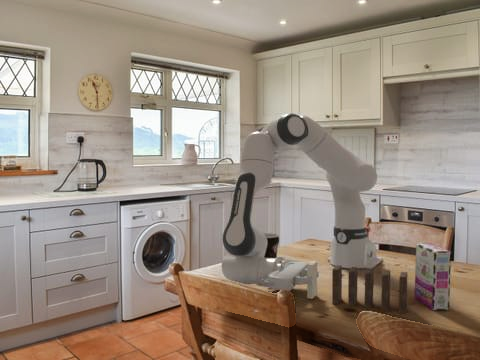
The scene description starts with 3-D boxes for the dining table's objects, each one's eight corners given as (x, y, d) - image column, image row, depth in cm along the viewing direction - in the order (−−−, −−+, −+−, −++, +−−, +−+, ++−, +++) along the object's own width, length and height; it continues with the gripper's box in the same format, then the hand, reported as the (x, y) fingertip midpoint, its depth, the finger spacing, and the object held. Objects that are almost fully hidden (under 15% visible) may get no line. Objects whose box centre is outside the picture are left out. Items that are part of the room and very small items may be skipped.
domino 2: (348, 305, 128) (348, 271, 127) (351, 300, 132) (352, 266, 131) (353, 306, 127) (354, 271, 126) (357, 301, 131) (357, 267, 131)
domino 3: (364, 308, 126) (365, 272, 125) (367, 302, 130) (367, 268, 129) (370, 309, 125) (371, 273, 124) (373, 303, 130) (373, 268, 129)
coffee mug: (264, 264, 172) (263, 238, 171) (253, 259, 180) (252, 234, 179) (289, 260, 178) (289, 235, 177) (277, 256, 185) (277, 231, 184)
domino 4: (381, 310, 124) (382, 274, 123) (383, 304, 128) (384, 270, 128) (387, 311, 123) (388, 275, 122) (389, 305, 128) (390, 270, 127)
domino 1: (332, 303, 129) (332, 269, 129) (336, 298, 134) (336, 265, 133) (337, 304, 129) (338, 270, 128) (341, 299, 133) (341, 265, 132)
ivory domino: (307, 298, 132) (307, 264, 132) (311, 293, 137) (312, 260, 136) (312, 298, 132) (312, 265, 131) (317, 293, 136) (317, 261, 136)
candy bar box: (450, 310, 123) (452, 251, 122) (433, 311, 123) (434, 251, 122) (430, 297, 134) (431, 242, 133) (413, 297, 134) (415, 242, 133)
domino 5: (398, 312, 122) (399, 276, 121) (400, 306, 126) (401, 271, 126) (405, 313, 121) (405, 277, 120) (406, 307, 126) (407, 272, 125)
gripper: (258, 271, 130) (305, 277, 124) (282, 255, 148) (323, 259, 142) (258, 293, 130) (305, 299, 124) (282, 274, 149) (323, 279, 143)
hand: (315, 277), depth 134 cm, fingers closed on ivory domino, 5 cm apart
